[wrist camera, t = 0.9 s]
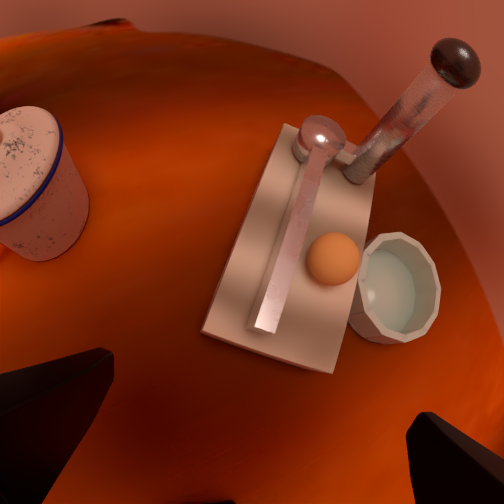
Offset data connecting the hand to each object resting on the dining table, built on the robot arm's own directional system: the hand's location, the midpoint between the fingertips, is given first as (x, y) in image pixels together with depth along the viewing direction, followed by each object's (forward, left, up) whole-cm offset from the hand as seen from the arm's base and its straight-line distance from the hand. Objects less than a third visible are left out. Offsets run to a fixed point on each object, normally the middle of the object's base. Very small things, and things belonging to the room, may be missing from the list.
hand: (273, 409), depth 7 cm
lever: (+8, -8, -11) cm, 16 cm away
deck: (+8, -8, -15) cm, 19 cm away
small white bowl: (+3, -16, -15) cm, 22 cm away
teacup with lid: (+13, +14, -15) cm, 25 cm away
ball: (+6, -8, -10) cm, 14 cm away
